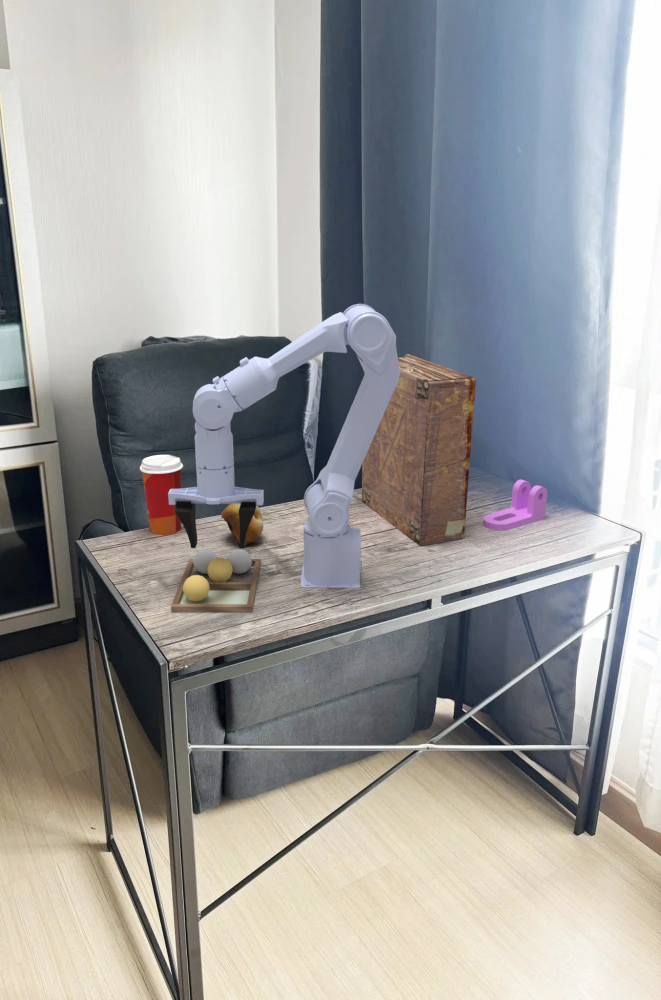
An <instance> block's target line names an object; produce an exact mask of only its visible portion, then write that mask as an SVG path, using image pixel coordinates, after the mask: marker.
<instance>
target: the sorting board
mask: <svg viewBox="0 0 661 1000" xmlns="http://www.w3.org/2000/svg"><path fill="white" fill-rule="evenodd" d="M193 559H194V558H189V559H188V561H187V564H186V567H185V569H184V571H183V572H184V573H183V575H182V577H181V580H180V583H179V585H178V588H177V591H176V593H175V595H174V598H173V601H172V603H171V606H170V610H171V612H170V613H245V614H246V613H249V614H250V613H253V610H254V603H255V597H256V592H257V586H258V582H259V578H260V577H259V576H260V571H261V565H262V560H261V558H251V559H252V564H251V567H253V572H252V578H251V581H225V582H214V581H208V583H209V593H208V595H207V596H206V597H205V598H204V599H203V600H201V601H191V600H189V599H188V598H187V597H186V596H185V595H184V592H183V585H184V582H185V581H186V579H187V578H189V577H190V576H192V575H191V574H192V572H193V570H194V568H195V567H194V565H193ZM226 559H227V560H228V558H226Z"/></svg>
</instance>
